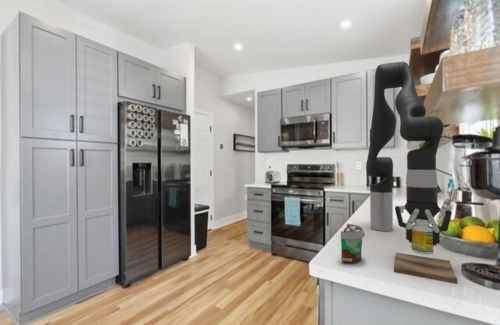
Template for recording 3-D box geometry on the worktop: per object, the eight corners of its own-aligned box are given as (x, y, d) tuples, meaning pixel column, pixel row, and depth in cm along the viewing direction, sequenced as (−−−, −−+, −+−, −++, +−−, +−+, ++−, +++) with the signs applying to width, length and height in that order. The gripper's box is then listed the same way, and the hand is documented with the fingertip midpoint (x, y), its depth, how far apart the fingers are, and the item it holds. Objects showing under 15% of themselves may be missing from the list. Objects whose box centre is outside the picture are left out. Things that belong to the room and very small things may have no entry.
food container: (363, 268, 74) (362, 234, 74) (340, 264, 77) (340, 231, 77) (366, 255, 85) (366, 225, 85) (347, 252, 88) (346, 223, 88)
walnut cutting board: (395, 256, 84) (395, 252, 84) (449, 264, 76) (449, 260, 76) (393, 271, 72) (393, 267, 72) (457, 283, 64) (457, 278, 65)
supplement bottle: (416, 247, 78) (416, 216, 78) (437, 252, 73) (436, 219, 73) (407, 250, 75) (407, 218, 75) (428, 256, 70) (428, 221, 70)
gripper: (450, 185, 74) (451, 243, 74) (393, 183, 81) (394, 236, 81) (454, 187, 67) (455, 251, 67) (392, 185, 75) (393, 242, 75)
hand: (422, 243), depth 74 cm, fingers closed on supplement bottle, 5 cm apart
